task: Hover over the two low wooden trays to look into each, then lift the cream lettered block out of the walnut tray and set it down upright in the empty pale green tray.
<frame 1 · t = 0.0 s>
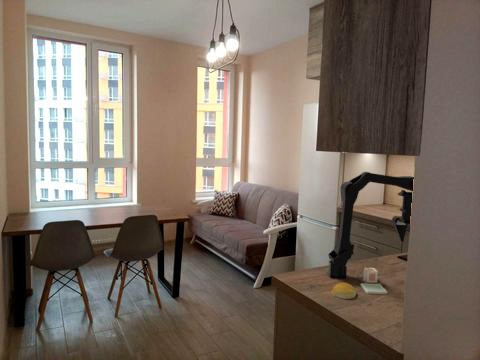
hand: (407, 244, 147), 15 cm above the counter, tool pointing down, fingers open, 9 cm apart
bread roll: (343, 295, 131), on the counter
walnut tray: (369, 282, 143), on the counter
letter block: (369, 281, 143), resting on walnut tray
green tray: (373, 290, 135), on the counter
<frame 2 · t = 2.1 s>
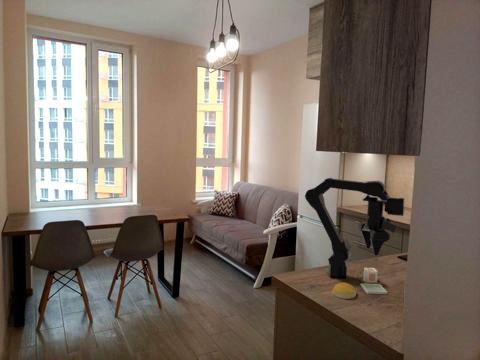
hand: (372, 251, 141), 13 cm above the counter, tool pointing down, fingers open, 9 cm apart
nothing on the counter moved.
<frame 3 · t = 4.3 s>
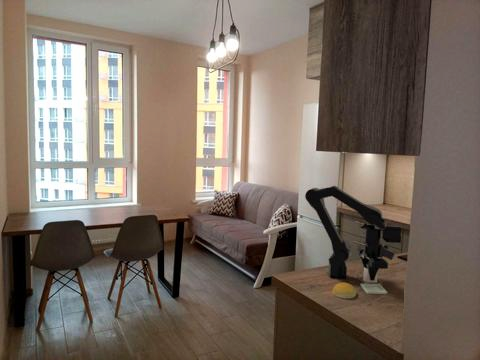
hand: (370, 278, 143), 2 cm above the counter, tool pointing down, fingers closed on letter block, 4 cm apart
letter block: (369, 281, 143), resting on walnut tray, touching gripper
everything else where it was.
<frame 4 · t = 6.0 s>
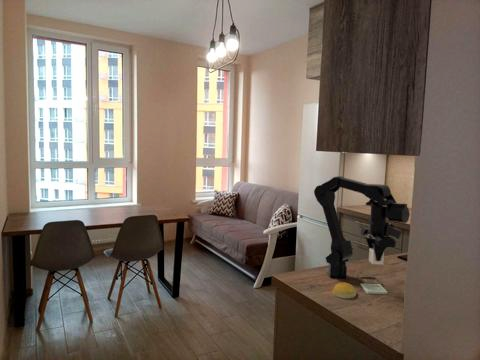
hand: (375, 259, 134), 12 cm above the counter, tool pointing down, fingers closed on letter block, 4 cm apart
letter block: (375, 262, 135), point 11 cm above the counter, touching gripper
everything else where it was.
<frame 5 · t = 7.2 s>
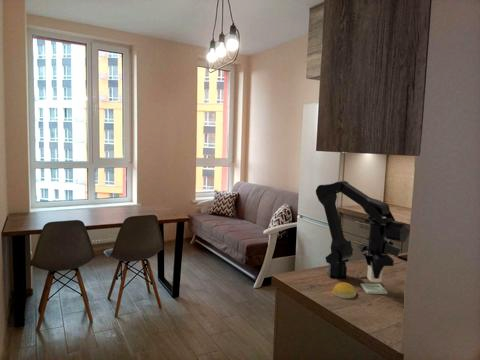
hand: (374, 276, 135), 6 cm above the counter, tool pointing down, fingers closed on letter block, 4 cm apart
letter block: (374, 279, 135), point 4 cm above the counter, touching gripper
everything else where it was.
when the fingers open (3 cm above the counter, at t = 8.0 s): letter block drops 1 cm, resting on green tray.
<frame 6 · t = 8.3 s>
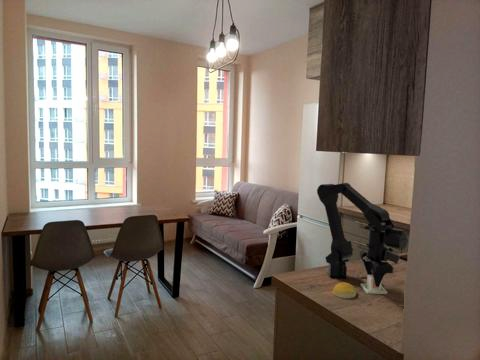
hand: (373, 282, 135), 3 cm above the counter, tool pointing down, fingers open, 7 cm apart
letter block: (373, 289, 135), resting on green tray
everything else where it was.
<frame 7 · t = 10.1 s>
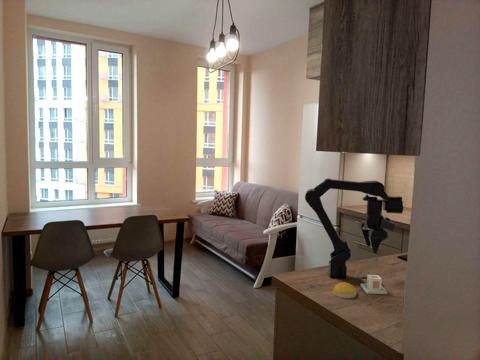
hand: (371, 249, 145), 13 cm above the counter, tool pointing down, fingers open, 9 cm apart
nothing on the counter moved.
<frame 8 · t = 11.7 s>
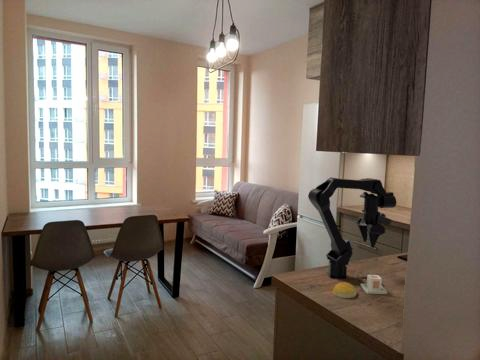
hand: (368, 244, 151), 13 cm above the counter, tool pointing down, fingers open, 9 cm apart
nothing on the counter moved.
at the end: letter block 0.1 cm off-centre on the green tray, point 0.4 cm above the green tray's base; letter block tilted 0°; the gripper is holding nothing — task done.
